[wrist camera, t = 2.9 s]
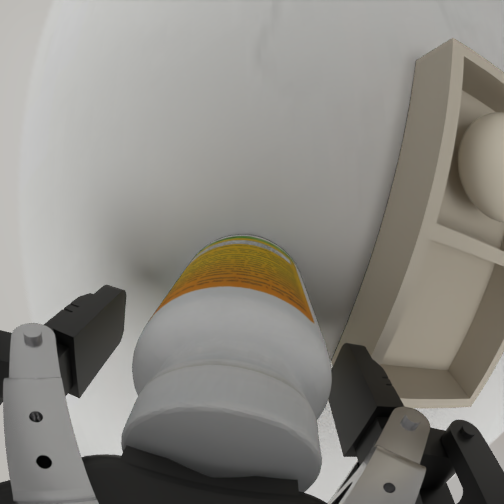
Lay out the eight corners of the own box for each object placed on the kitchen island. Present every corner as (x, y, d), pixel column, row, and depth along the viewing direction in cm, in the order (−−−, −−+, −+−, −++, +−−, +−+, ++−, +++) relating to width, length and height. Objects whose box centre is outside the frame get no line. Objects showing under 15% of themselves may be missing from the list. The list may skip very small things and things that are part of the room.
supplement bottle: (164, 263, 14) (39, 401, 4) (271, 211, 13) (299, 313, 4) (219, 355, 15) (183, 528, 6) (319, 314, 14) (380, 489, 5)
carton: (416, 60, 11) (452, 37, 8) (522, 128, 11) (562, 126, 8) (331, 360, 15) (345, 404, 12) (445, 373, 15) (470, 406, 12)
